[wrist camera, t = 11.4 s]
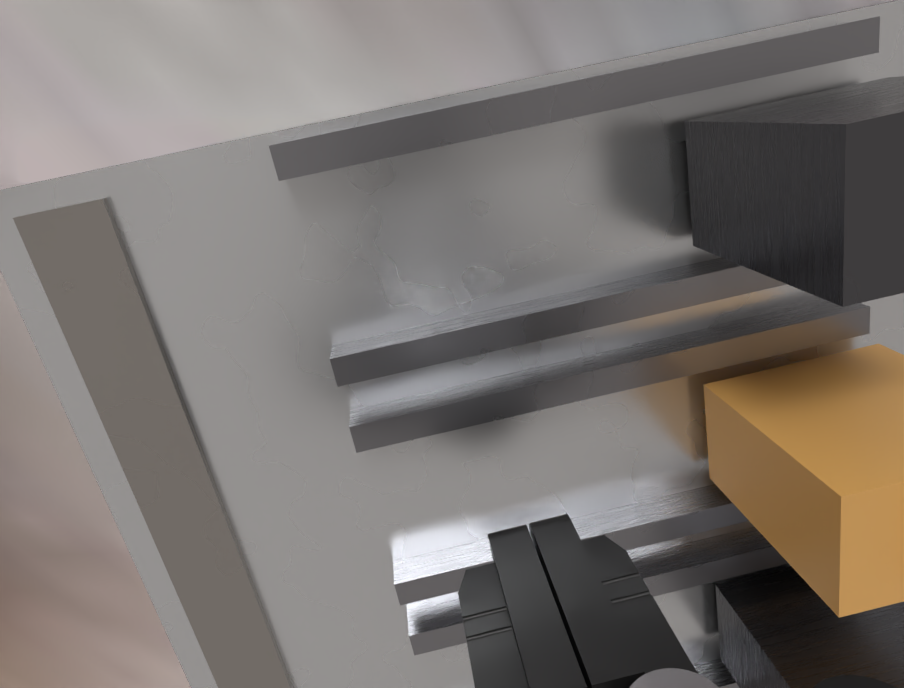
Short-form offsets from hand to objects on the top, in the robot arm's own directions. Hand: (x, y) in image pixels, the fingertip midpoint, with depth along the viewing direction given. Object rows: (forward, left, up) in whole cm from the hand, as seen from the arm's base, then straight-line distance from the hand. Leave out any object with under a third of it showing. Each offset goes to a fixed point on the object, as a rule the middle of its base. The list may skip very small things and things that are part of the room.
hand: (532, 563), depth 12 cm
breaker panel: (0, +3, -5) cm, 6 cm away
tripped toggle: (0, +7, -3) cm, 7 cm away
